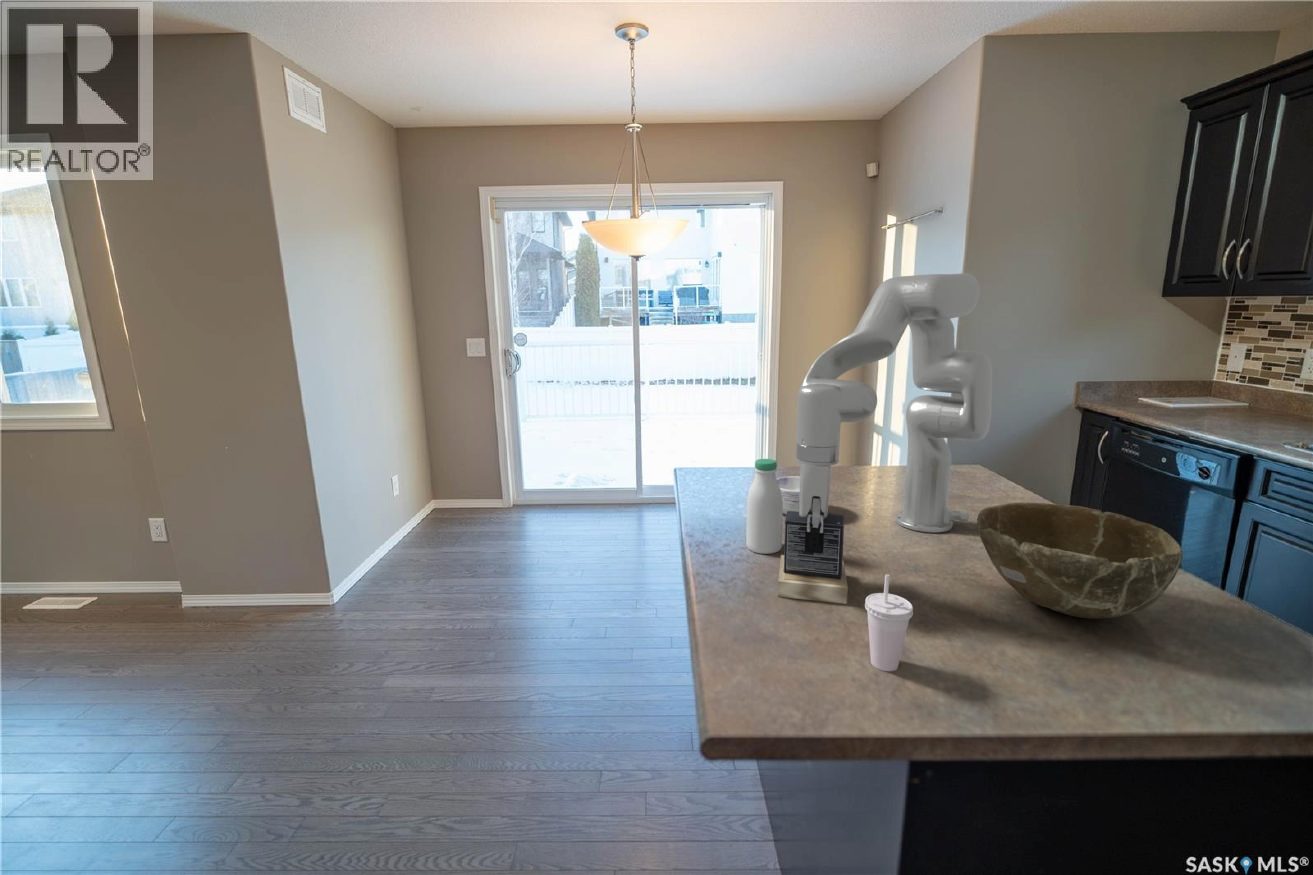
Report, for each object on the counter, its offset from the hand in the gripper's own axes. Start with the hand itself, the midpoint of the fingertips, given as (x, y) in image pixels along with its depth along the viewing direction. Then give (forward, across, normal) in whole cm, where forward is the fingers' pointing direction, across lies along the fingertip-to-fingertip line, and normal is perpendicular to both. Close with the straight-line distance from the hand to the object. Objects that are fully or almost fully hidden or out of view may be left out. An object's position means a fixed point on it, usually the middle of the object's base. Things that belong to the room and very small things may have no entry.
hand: (813, 542), depth 103 cm
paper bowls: (+9, -42, -3) cm, 43 cm away
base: (+9, 0, 0) cm, 9 cm away
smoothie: (+9, +23, +10) cm, 27 cm away
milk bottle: (+9, -16, -10) cm, 21 cm away
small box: (+6, 0, 0) cm, 6 cm away
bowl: (+9, -1, +42) cm, 43 cm away
